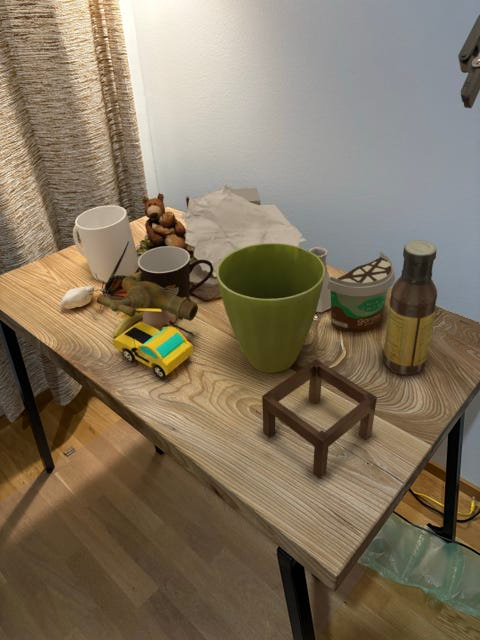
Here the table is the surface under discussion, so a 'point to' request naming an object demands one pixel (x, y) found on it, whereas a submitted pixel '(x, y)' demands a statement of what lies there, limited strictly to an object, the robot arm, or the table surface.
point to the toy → (248, 194)
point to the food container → (361, 295)
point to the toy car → (154, 346)
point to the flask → (325, 293)
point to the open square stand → (315, 375)
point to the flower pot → (271, 300)
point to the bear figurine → (162, 229)
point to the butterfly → (114, 283)
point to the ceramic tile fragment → (204, 284)
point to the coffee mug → (170, 269)
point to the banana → (126, 324)
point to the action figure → (149, 299)
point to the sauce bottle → (411, 310)
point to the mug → (106, 241)
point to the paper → (233, 226)
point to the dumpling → (77, 297)
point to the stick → (181, 328)
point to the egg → (158, 318)
